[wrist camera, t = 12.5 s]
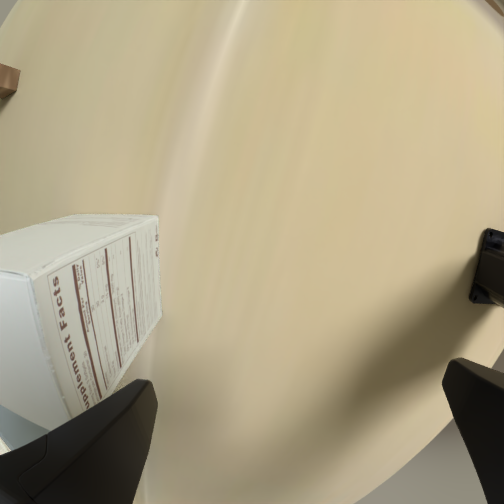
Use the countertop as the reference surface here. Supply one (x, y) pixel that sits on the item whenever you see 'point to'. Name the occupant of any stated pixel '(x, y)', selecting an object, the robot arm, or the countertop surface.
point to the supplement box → (74, 310)
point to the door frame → (8, 80)
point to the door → (18, 429)
